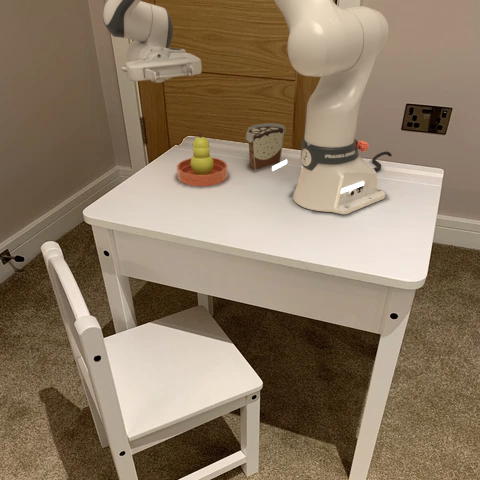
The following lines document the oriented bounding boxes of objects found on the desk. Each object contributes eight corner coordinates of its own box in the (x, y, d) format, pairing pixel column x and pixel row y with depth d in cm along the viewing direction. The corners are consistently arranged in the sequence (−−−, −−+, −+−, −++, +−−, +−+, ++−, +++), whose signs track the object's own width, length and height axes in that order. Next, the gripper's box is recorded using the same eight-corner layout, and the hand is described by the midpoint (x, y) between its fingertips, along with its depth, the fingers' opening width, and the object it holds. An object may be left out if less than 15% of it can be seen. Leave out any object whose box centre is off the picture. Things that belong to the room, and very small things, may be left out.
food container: (269, 155, 142) (270, 119, 135) (284, 161, 138) (286, 125, 132) (236, 166, 135) (236, 128, 129) (250, 172, 132) (251, 134, 125)
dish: (214, 164, 136) (214, 153, 134) (235, 181, 127) (235, 169, 125) (170, 173, 132) (169, 162, 130) (189, 190, 123) (188, 179, 121)
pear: (208, 170, 132) (206, 127, 125) (217, 178, 128) (216, 133, 121) (187, 174, 130) (184, 130, 123) (196, 182, 126) (194, 137, 119)
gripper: (117, 54, 130) (133, 64, 121) (188, 48, 138) (209, 56, 128) (121, 80, 134) (137, 92, 125) (190, 72, 142) (210, 83, 132)
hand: (174, 74), depth 126 cm, fingers open, 8 cm apart
